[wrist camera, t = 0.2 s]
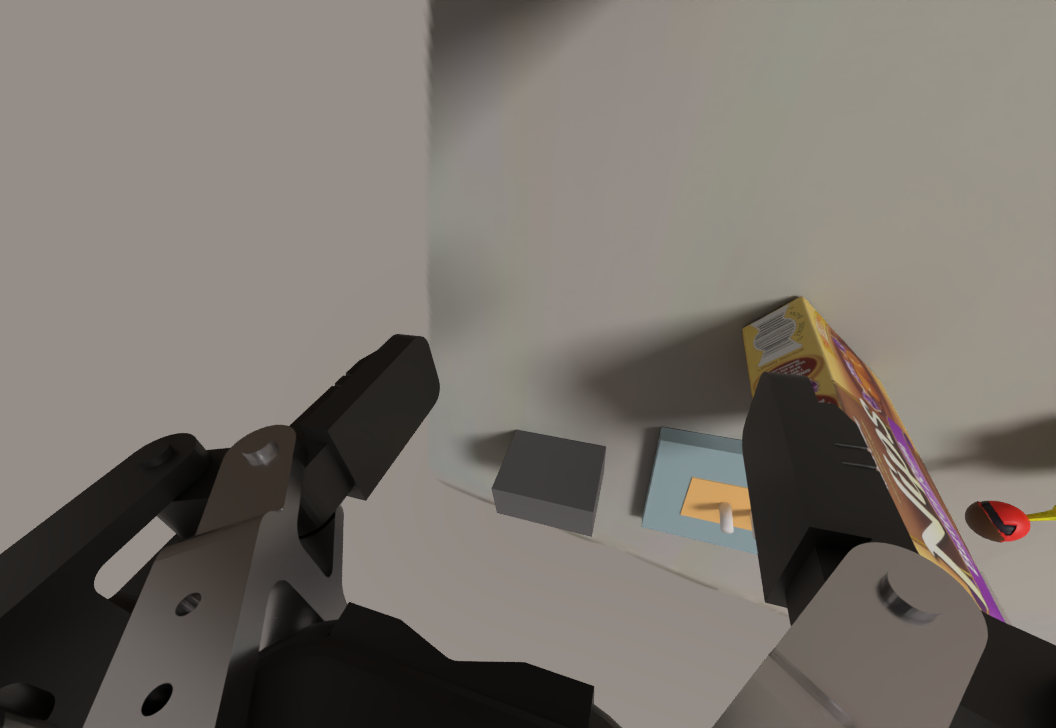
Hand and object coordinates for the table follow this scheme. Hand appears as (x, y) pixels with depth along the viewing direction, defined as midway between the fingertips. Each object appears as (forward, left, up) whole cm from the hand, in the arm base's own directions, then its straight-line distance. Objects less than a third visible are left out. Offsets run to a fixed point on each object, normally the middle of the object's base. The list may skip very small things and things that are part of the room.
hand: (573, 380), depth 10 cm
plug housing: (+26, -5, -18) cm, 32 cm away
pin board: (+27, +13, -18) cm, 35 cm away
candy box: (+11, +12, -18) cm, 24 cm away
